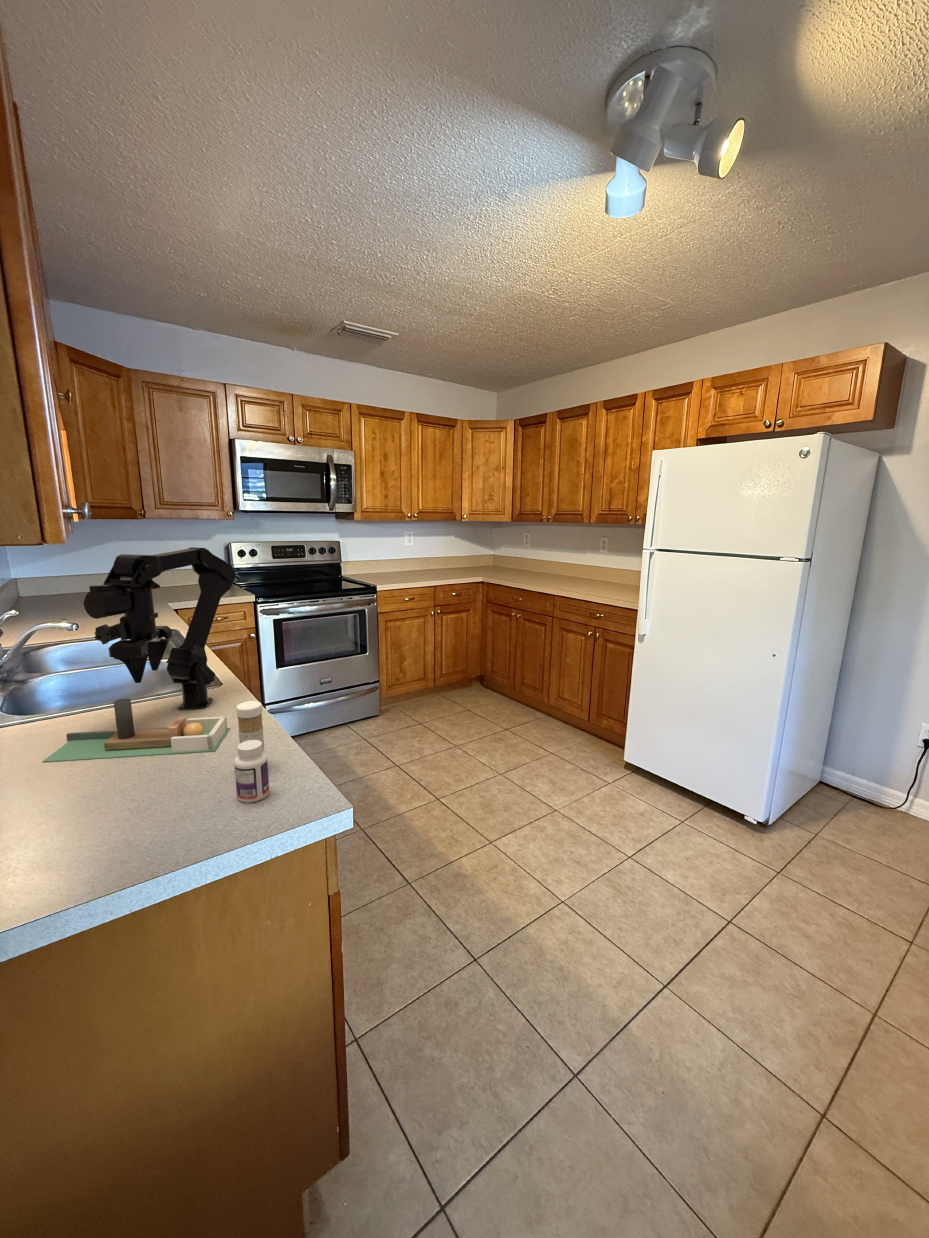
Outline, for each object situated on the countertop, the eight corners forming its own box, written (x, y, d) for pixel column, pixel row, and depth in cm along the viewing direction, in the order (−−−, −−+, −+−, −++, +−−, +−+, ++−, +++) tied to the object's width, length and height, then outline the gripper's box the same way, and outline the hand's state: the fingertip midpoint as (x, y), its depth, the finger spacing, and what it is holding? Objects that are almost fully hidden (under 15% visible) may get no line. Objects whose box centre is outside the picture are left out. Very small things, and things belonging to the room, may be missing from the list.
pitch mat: (76, 736, 111) (75, 736, 111) (230, 728, 117) (229, 727, 117) (42, 762, 99) (42, 761, 99) (215, 751, 105) (215, 750, 105)
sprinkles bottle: (261, 761, 102) (257, 698, 99) (269, 769, 98) (265, 705, 96) (237, 767, 99) (233, 703, 96) (244, 776, 95) (240, 710, 93)
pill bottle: (259, 783, 93) (256, 735, 91) (275, 794, 90) (272, 743, 88) (231, 795, 89) (227, 745, 87) (246, 807, 86) (242, 754, 84)
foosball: (209, 725, 112) (199, 739, 112) (193, 716, 111) (183, 730, 111) (204, 732, 108) (193, 747, 108) (187, 723, 107) (176, 738, 107)
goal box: (189, 730, 115) (188, 718, 114) (227, 728, 116) (226, 716, 116) (171, 752, 104) (170, 738, 104) (213, 749, 106) (212, 736, 105)
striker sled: (118, 737, 110) (113, 696, 108) (187, 733, 112) (183, 693, 111) (104, 749, 104) (99, 706, 102) (177, 745, 107) (173, 703, 105)
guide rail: (69, 739, 109) (68, 732, 109) (185, 732, 114) (185, 726, 113) (67, 740, 108) (66, 734, 108) (184, 734, 113) (184, 727, 113)
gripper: (119, 603, 120) (126, 666, 123) (76, 619, 102) (86, 691, 105) (169, 603, 122) (175, 664, 125) (136, 618, 104) (144, 689, 107)
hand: (146, 676), depth 116 cm, fingers open, 9 cm apart
